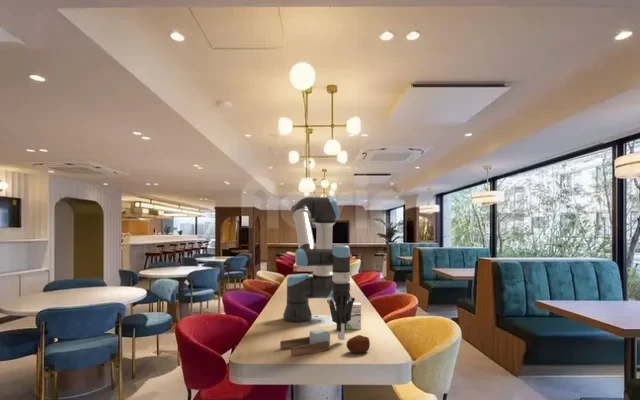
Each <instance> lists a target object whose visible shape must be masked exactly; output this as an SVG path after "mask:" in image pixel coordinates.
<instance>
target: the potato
mask: <svg viewBox="0 0 640 400" xmlns="http://www.w3.org/2000/svg"><path fill="white" fill-rule="evenodd" d="M370 341H371V340H370V338H369V337H367V336H364V335H361V334H360V335H356V336H352V337H351V338H349V339H348V340H347V341H346V345H345V346H346V348H347V350H348V351H349V352H351V353H357V354H364V353H366V352H368V351H369V349H370V347H371V343H370Z"/></svg>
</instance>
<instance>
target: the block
mask: <svg viewBox="0 0 640 400" xmlns="http://www.w3.org/2000/svg"><path fill="white" fill-rule="evenodd" d="M309 337H310V344H313V343H319V342H325V341H328V342H329V349H330V348H331V332H329V331H327V330H325V329H316V330H315V329H314V330H310V331H309Z"/></svg>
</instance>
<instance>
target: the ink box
mask: <svg viewBox="0 0 640 400" xmlns="http://www.w3.org/2000/svg"><path fill="white" fill-rule="evenodd" d="M347 303H348V301H347ZM347 322H348V323H347V324H346V330H361V329H362V303H361V302H355V301H354V303H353V306H352V312H351V317H350V321H347Z"/></svg>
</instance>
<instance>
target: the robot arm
mask: <svg viewBox="0 0 640 400" xmlns="http://www.w3.org/2000/svg"><path fill="white" fill-rule="evenodd" d="M292 208H293V209H292V210H291V211H292V214H291V215H292V221H293V222H295V230H296V237H297V238H296V239H297V246H298V248H297V249H296V250H295V253H294V258H295V265H296V266H298V267H315V270H314V271H313V272H312V276H310V275H309V273H296V274H292V275H288V277H287V279H286V305H285V309H284V310H283V314H282V315H283V317H282V319H283V320H284V321H286V322H290V323H303V322H304V323H305V322H308V321H311V320H313V316H312V315H313V313H312V311H311V308H310V305H309V302H310V301H309V299H327V300H326V301H327V304H328V306H329V310H330V316H331V321H332V322H333V323H335V324H336V332H337V339H338V340H341V341H343V340H346V339H345V334H346V333H345V332H346V330H347V329H346V324H347V323H348V322H347V321H350V317H351V312H352V306H353V303H354V302H355V300H356V299H355V297H352V296H351V283H350V281H351V250H350V249H351V248H350V246H349V245H343V244H342V245H339V244H337V245H333V226H334V225H335V224H336V221H337V220H339V218H340V210H339V203H338V201H337V198H336V197H328V196H320V197H317V196H315V197H314V196H313V197H312V196H307V197H306V196H305V197H304V198H301V199H300V200H298V201H297V203H295V205H294V207H292ZM311 220H313V223H314V224H315V226H316V233H315V234H316V239H314V234H313V233H314V232H313V229H312V223H311ZM347 302H348V303H347Z"/></svg>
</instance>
